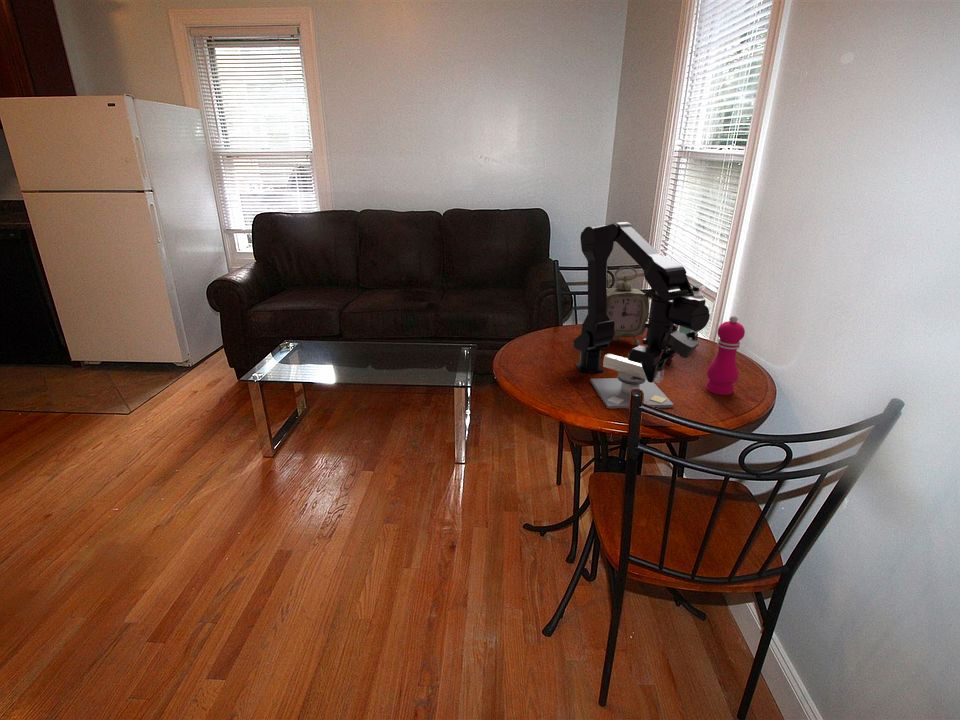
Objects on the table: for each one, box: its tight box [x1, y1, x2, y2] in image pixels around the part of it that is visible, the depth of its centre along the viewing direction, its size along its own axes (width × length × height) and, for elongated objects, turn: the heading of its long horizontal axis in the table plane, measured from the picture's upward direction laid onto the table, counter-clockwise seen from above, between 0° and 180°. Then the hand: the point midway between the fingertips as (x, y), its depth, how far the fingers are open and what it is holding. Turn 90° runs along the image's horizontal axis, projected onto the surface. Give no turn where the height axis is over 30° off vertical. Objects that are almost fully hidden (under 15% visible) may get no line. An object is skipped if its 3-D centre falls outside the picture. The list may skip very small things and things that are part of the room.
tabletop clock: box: [607, 266, 650, 346], centre depth 155 cm, size 14×9×25 cm, turn 91°
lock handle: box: [602, 353, 665, 385], centre depth 122 cm, size 15×8×5 cm, turn 47°
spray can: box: [678, 285, 705, 334], centre depth 151 cm, size 6×6×20 cm
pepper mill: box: [706, 315, 746, 396], centre depth 122 cm, size 7×7×20 cm
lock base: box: [590, 377, 674, 410], centre depth 123 cm, size 16×16×4 cm
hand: (652, 380), depth 118 cm, fingers closed on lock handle, 2 cm apart
